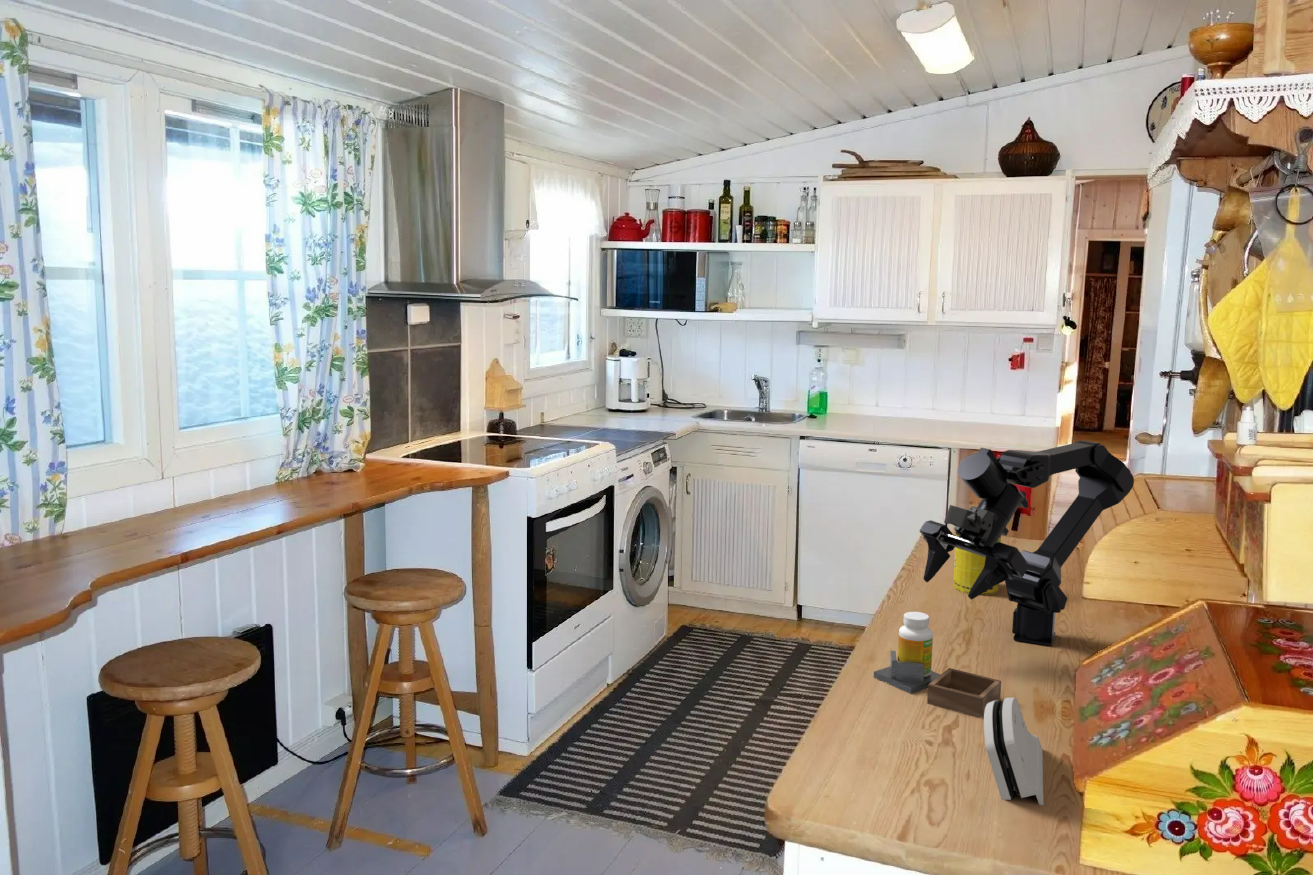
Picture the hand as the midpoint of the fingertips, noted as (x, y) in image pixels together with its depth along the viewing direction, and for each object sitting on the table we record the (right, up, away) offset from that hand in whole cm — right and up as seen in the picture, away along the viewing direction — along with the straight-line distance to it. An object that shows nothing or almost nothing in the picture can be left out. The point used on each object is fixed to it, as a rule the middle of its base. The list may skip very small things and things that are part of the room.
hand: (947, 589), depth 170 cm
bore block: (-1, -16, -12) cm, 20 cm away
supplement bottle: (-6, -13, -4) cm, 15 cm away
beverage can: (+18, -6, +43) cm, 47 cm away
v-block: (-7, -14, -4) cm, 16 cm away
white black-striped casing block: (-1, -20, -34) cm, 39 cm away
